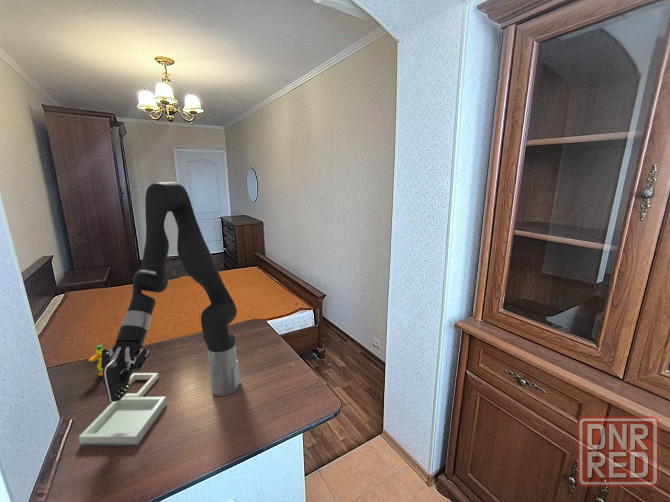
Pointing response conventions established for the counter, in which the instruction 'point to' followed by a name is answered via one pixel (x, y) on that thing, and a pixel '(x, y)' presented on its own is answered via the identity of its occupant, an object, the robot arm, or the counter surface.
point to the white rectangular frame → (151, 380)
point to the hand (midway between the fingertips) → (114, 385)
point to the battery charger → (115, 379)
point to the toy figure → (99, 357)
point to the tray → (123, 422)
